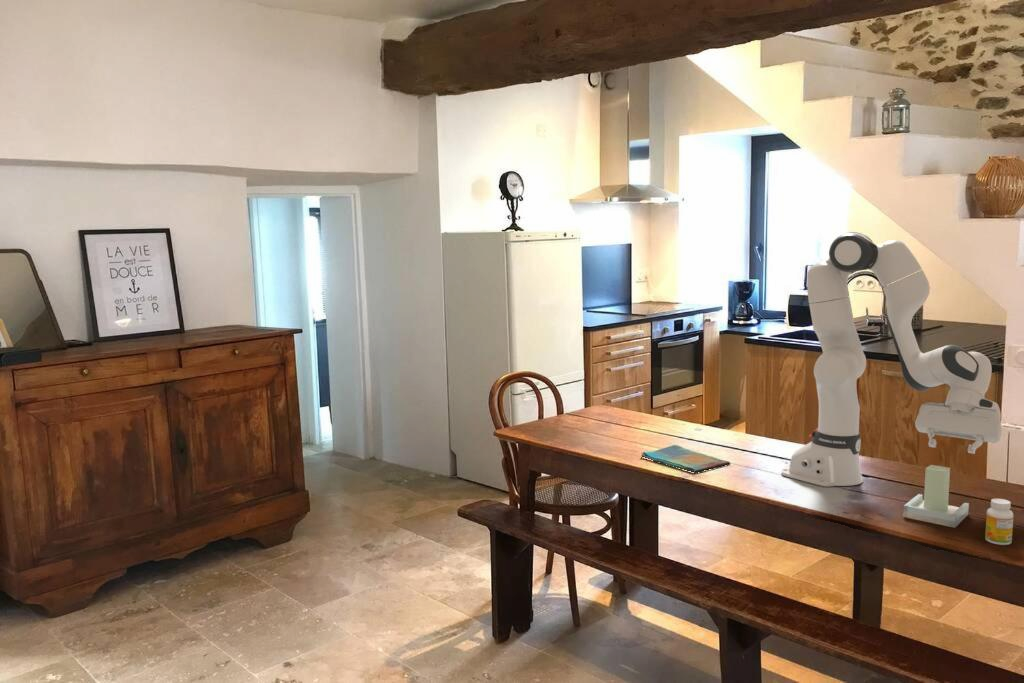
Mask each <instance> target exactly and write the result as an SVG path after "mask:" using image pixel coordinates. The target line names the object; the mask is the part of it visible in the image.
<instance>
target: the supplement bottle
mask: <svg viewBox="0 0 1024 683" xmlns="http://www.w3.org/2000/svg"><path fill="white" fill-rule="evenodd" d="M1011 504H1012V502H1011V501H1010V500H1007V499H1004V498H992V499H990V507H989V508H988V509H987V510H986V519H985V520H986V522H985V533H984V534H985V537H984V538H985V541H987V542H989V543H990V544H995V545H1000V546H1007V545H1011V544H1012V542H1013V528H1014V513H1013V511H1012V510H1010V509H1011V507H1012V506H1011Z"/></svg>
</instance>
